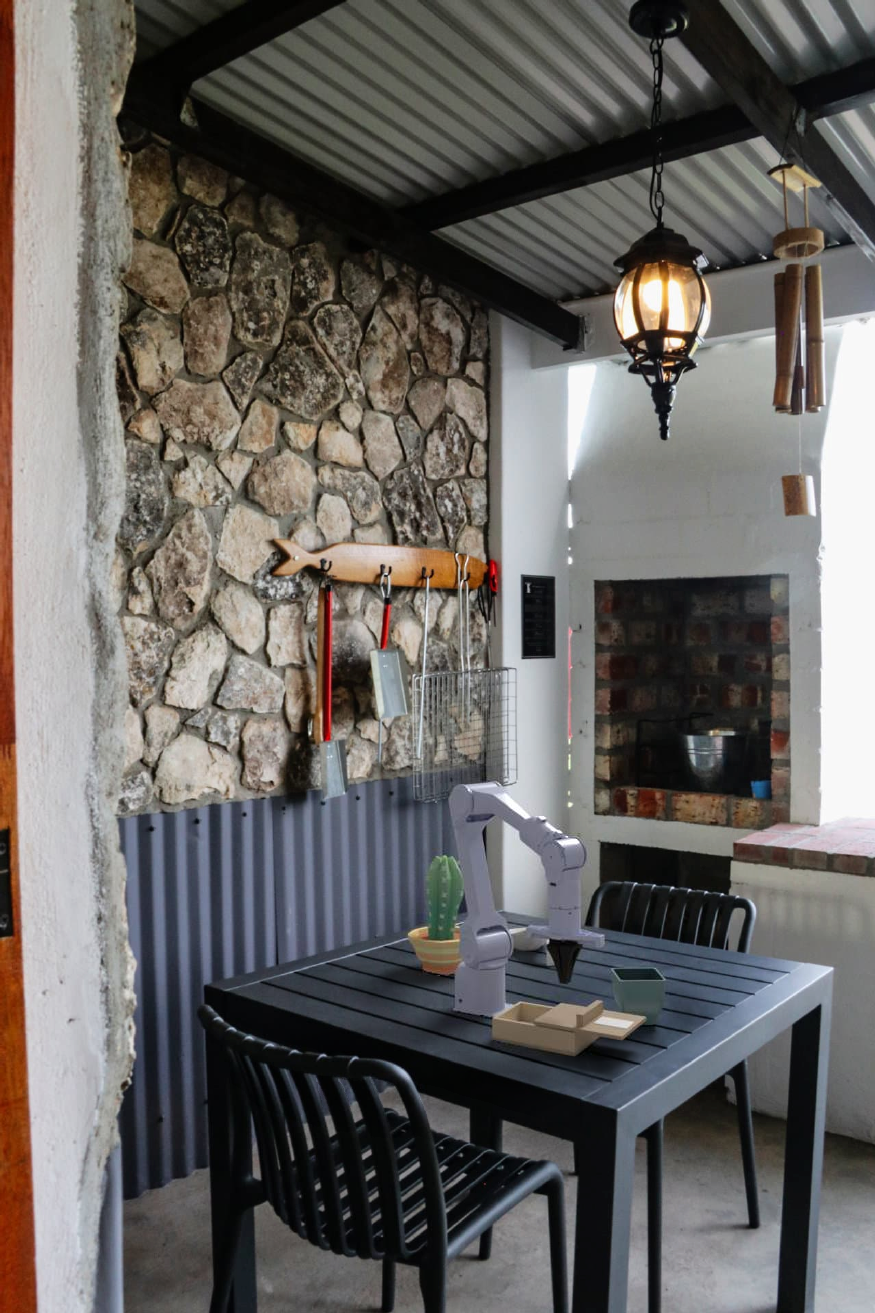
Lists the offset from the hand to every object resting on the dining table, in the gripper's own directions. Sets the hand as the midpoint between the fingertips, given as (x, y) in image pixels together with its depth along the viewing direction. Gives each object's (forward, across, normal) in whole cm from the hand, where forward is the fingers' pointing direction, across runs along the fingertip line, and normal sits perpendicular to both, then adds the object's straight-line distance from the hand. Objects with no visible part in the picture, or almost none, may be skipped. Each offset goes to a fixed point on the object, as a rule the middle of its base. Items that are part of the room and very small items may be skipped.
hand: (565, 982), depth 193 cm
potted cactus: (+11, -42, +28) cm, 52 cm away
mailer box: (+10, -3, -1) cm, 11 cm away
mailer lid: (+6, +5, -1) cm, 8 cm away
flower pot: (+11, +8, +16) cm, 21 cm away
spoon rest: (+11, -31, +51) cm, 60 cm away
